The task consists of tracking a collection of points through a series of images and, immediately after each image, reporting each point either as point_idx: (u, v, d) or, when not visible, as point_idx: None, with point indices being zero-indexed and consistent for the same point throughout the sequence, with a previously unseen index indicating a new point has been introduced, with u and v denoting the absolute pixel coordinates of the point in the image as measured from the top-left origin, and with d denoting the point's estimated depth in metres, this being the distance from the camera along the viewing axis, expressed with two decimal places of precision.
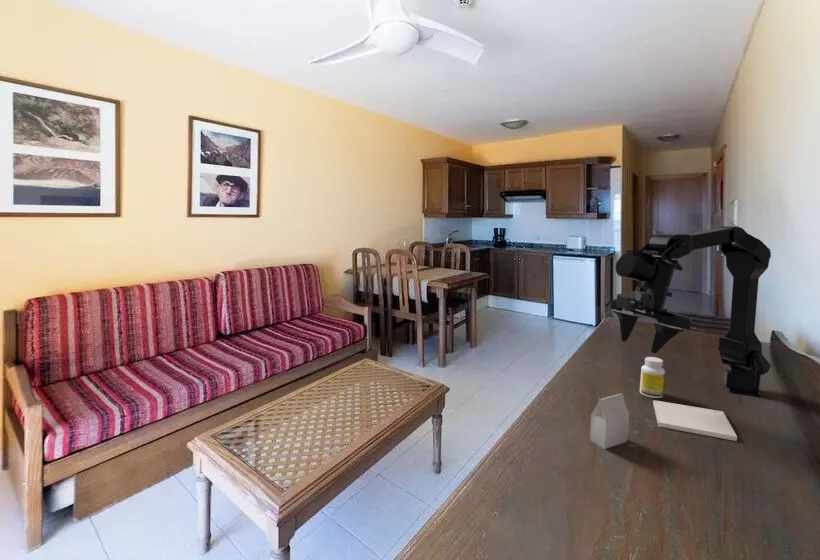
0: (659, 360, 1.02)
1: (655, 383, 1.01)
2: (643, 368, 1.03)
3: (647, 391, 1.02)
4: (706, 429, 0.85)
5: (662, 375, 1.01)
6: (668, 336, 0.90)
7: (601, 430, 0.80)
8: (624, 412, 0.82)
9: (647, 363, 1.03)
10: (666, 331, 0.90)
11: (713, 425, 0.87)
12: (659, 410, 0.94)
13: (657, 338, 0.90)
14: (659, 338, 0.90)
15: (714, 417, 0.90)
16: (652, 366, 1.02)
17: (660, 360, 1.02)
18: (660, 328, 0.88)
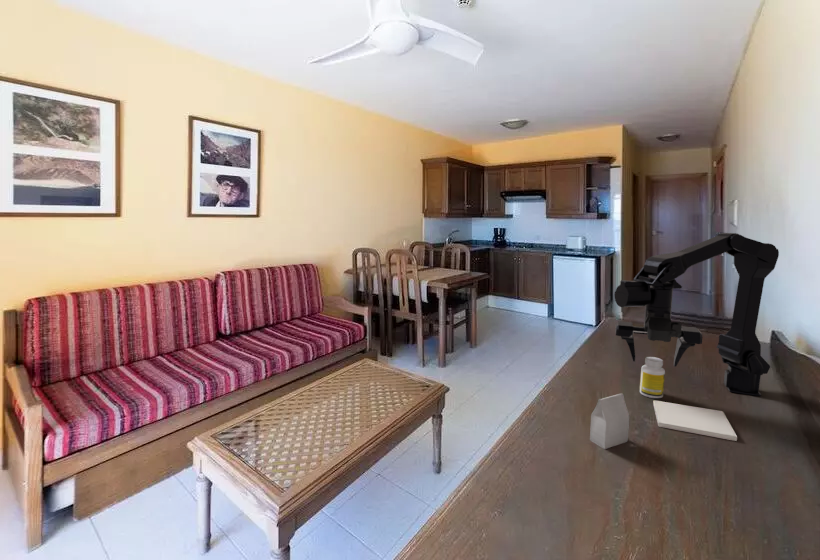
0: (659, 360, 1.02)
1: (655, 383, 1.01)
2: (643, 368, 1.03)
3: (647, 391, 1.02)
4: (706, 429, 0.85)
5: (662, 375, 1.01)
6: None
7: (601, 430, 0.80)
8: (624, 412, 0.82)
9: (647, 363, 1.02)
10: None
11: (713, 425, 0.87)
12: (659, 410, 0.94)
13: (681, 354, 0.99)
14: None
15: (714, 417, 0.90)
16: (652, 366, 1.02)
17: (660, 360, 1.02)
18: (687, 347, 0.97)
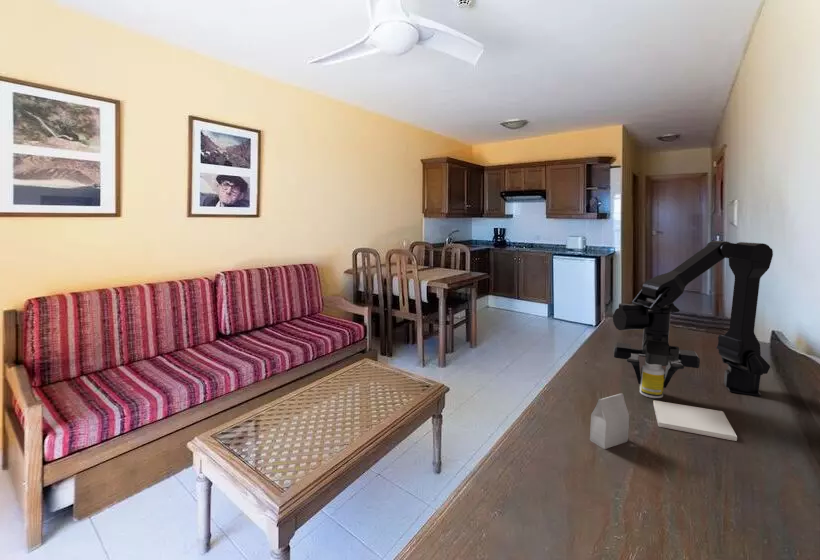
0: None
1: (655, 383, 1.01)
2: (643, 368, 1.03)
3: (647, 390, 1.02)
4: (706, 429, 0.85)
5: (662, 375, 1.01)
6: None
7: (601, 430, 0.80)
8: (624, 412, 0.82)
9: (647, 363, 1.02)
10: None
11: (713, 425, 0.87)
12: (659, 410, 0.94)
13: (670, 376, 1.01)
14: None
15: (714, 417, 0.90)
16: (652, 366, 1.02)
17: None
18: (676, 369, 0.99)
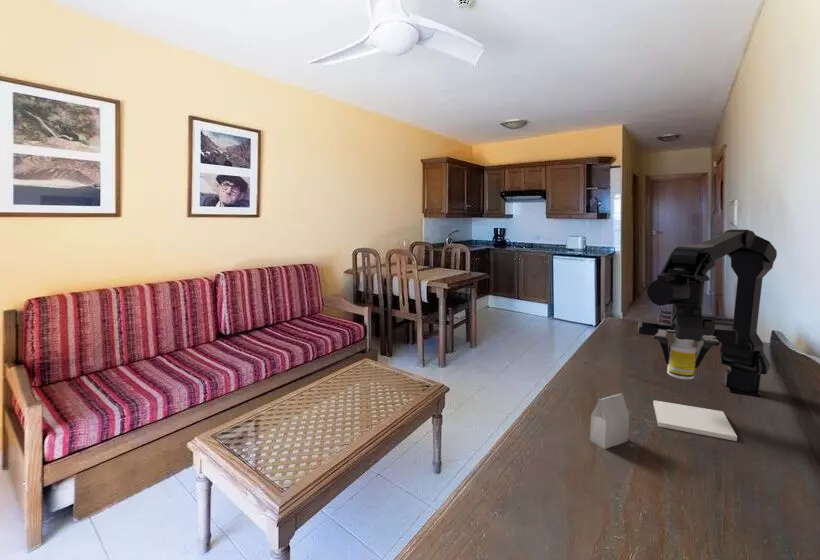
0: None
1: (686, 362, 0.90)
2: (672, 346, 0.92)
3: (676, 371, 0.91)
4: (706, 429, 0.85)
5: (694, 353, 0.90)
6: None
7: (601, 430, 0.80)
8: (624, 412, 0.82)
9: (676, 340, 0.92)
10: None
11: (713, 425, 0.87)
12: (659, 410, 0.94)
13: (704, 354, 0.89)
14: None
15: (714, 417, 0.90)
16: (682, 343, 0.91)
17: None
18: (710, 346, 0.88)
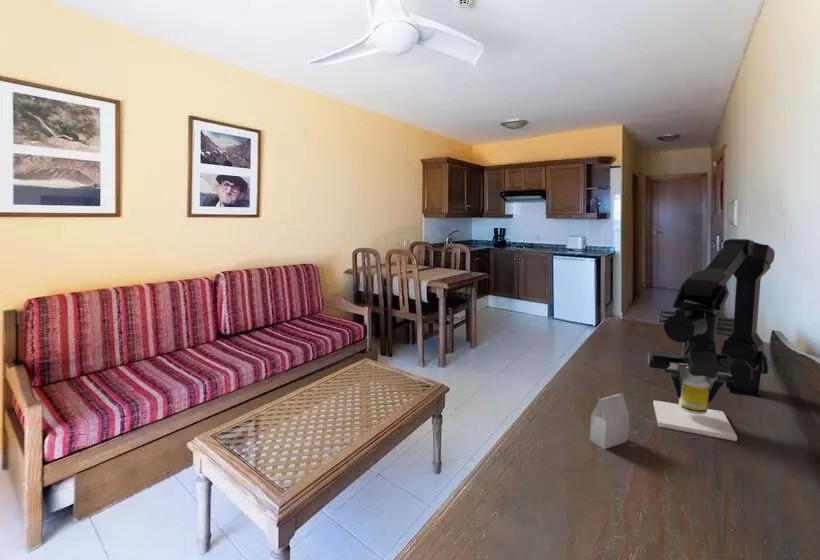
0: None
1: (699, 397, 0.87)
2: (684, 379, 0.89)
3: (689, 405, 0.88)
4: (706, 429, 0.85)
5: (707, 388, 0.87)
6: None
7: (601, 430, 0.81)
8: (624, 412, 0.82)
9: (689, 374, 0.88)
10: None
11: (713, 425, 0.87)
12: (659, 410, 0.94)
13: (717, 389, 0.86)
14: None
15: (714, 417, 0.90)
16: (694, 378, 0.88)
17: None
18: (724, 381, 0.85)
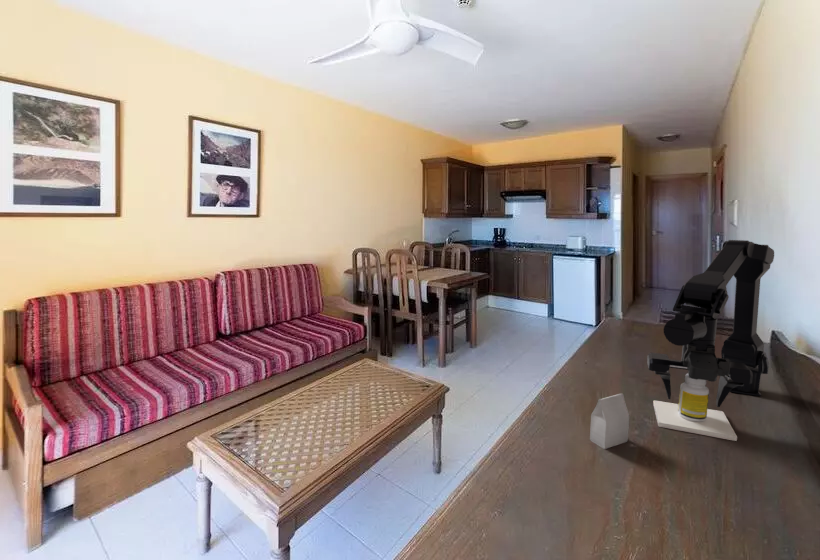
0: None
1: (698, 405, 0.87)
2: (683, 386, 0.89)
3: (688, 413, 0.88)
4: (706, 429, 0.85)
5: (706, 395, 0.87)
6: None
7: (601, 430, 0.81)
8: (624, 412, 0.82)
9: (688, 381, 0.89)
10: None
11: (713, 425, 0.87)
12: (659, 410, 0.94)
13: (726, 394, 0.86)
14: None
15: (714, 417, 0.90)
16: (694, 385, 0.88)
17: None
18: (734, 386, 0.84)
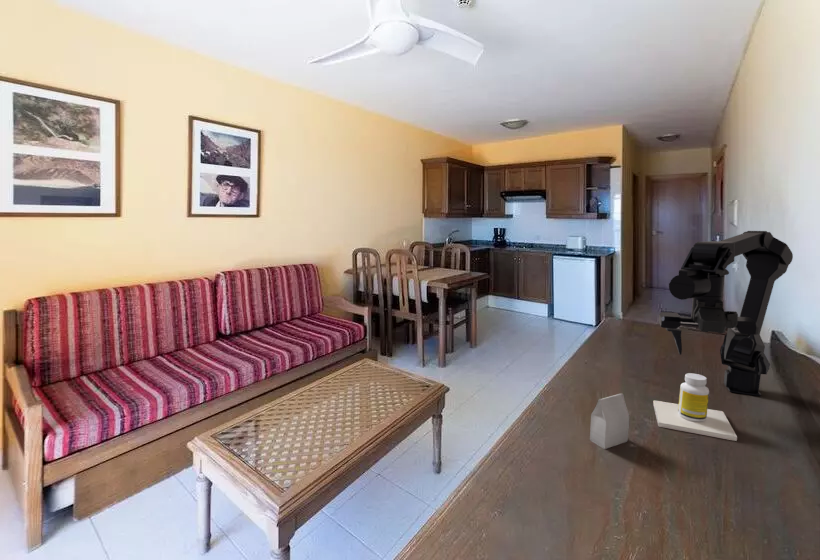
0: (702, 377, 0.88)
1: (698, 405, 0.87)
2: (683, 386, 0.89)
3: (688, 413, 0.88)
4: (706, 429, 0.85)
5: (706, 395, 0.87)
6: None
7: (601, 430, 0.81)
8: (624, 412, 0.82)
9: (688, 381, 0.89)
10: None
11: (713, 425, 0.87)
12: (659, 410, 0.94)
13: (734, 346, 0.92)
14: None
15: (714, 417, 0.90)
16: (694, 385, 0.88)
17: (703, 377, 0.88)
18: (741, 338, 0.90)
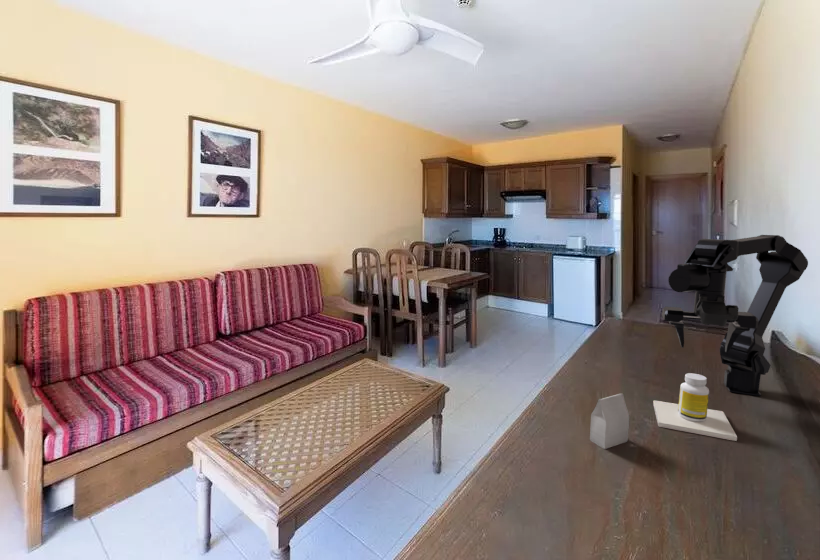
0: (702, 377, 0.88)
1: (698, 404, 0.87)
2: (683, 386, 0.89)
3: (688, 413, 0.88)
4: (706, 429, 0.85)
5: (706, 395, 0.87)
6: None
7: (601, 430, 0.81)
8: (624, 412, 0.82)
9: (688, 381, 0.89)
10: None
11: (713, 425, 0.87)
12: (659, 410, 0.94)
13: (734, 339, 0.96)
14: None
15: (714, 417, 0.90)
16: (694, 385, 0.88)
17: (703, 377, 0.88)
18: (741, 331, 0.94)
